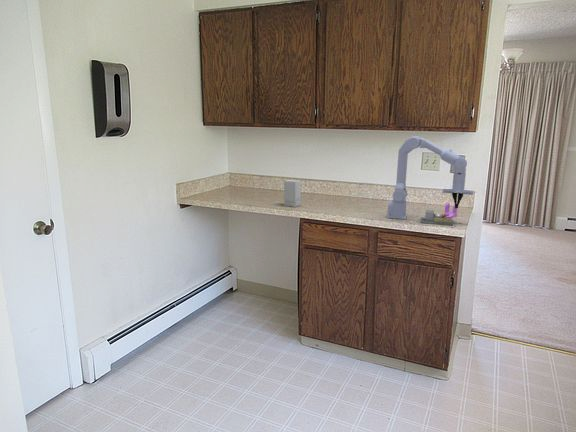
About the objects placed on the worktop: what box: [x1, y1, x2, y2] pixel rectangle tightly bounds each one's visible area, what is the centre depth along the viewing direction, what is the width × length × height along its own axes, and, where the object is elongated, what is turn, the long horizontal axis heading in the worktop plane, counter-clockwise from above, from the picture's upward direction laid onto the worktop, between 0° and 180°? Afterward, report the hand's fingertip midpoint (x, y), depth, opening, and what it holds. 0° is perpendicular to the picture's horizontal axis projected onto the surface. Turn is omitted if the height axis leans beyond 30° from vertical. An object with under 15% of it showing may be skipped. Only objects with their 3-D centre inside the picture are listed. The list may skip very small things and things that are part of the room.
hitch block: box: [420, 209, 435, 221], centre depth 229 cm, size 12×6×5 cm, turn 69°
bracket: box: [442, 202, 458, 219], centre depth 239 cm, size 13×6×7 cm, turn 145°
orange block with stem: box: [433, 212, 447, 218], centre depth 228 cm, size 7×5×3 cm
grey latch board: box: [419, 217, 454, 227], centre depth 227 cm, size 16×12×4 cm
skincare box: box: [283, 179, 302, 208], centre depth 263 cm, size 8×7×16 cm
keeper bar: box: [434, 217, 453, 223], centre depth 222 cm, size 9×1×2 cm, turn 69°
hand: (456, 207), depth 224 cm, fingers closed
